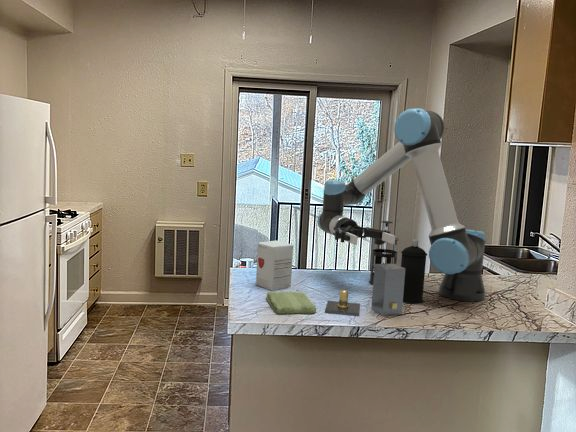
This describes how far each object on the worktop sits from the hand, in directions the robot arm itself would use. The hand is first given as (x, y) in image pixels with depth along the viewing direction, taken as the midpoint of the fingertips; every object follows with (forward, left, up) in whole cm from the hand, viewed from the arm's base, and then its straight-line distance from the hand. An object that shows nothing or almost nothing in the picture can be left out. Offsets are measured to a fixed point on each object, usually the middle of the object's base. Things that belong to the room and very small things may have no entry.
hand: (375, 240), depth 169 cm
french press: (-4, -26, -20) cm, 33 cm away
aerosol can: (-13, -7, -20) cm, 25 cm away
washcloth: (+24, +11, -21) cm, 34 cm away
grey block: (-5, +8, -20) cm, 22 cm away
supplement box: (+33, -9, -20) cm, 40 cm away
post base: (+8, +10, -20) cm, 24 cm away
